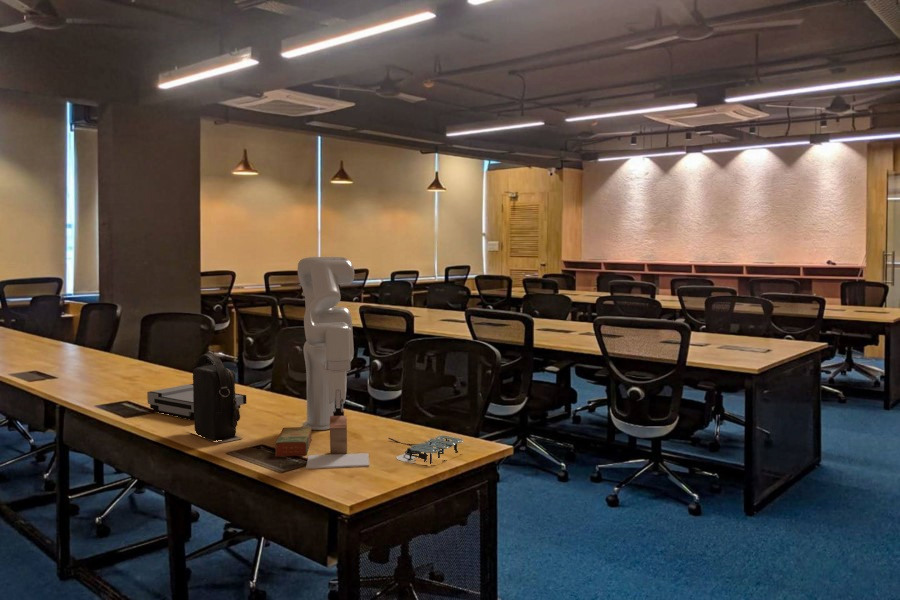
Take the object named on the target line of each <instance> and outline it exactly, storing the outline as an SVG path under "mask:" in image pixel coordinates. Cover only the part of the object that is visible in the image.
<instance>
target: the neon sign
mask: <svg viewBox="0 0 900 600" xmlns="http://www.w3.org/2000/svg"><path fill="white" fill-rule="evenodd" d="M388 440H390V441H392V442H395V443H398V444H401V445H402V444H403V445H407V446H410V447H408V448H407V449H406V450H405V451H404V453H403V454H400V455H399V454H398V455H397V456H395V458H396V460H398V461H401V462H403V463H410V464H413V463H414V462H415V461H416V460H414V461H411V460H413V459H415V458H417V457H418V458H421V459H424V462H425V461H426V460H427V456H428V455H427V454H426V453H430V464H431V463H432V454H431V453H437V452H438V458H440V454H444V449H447V448H450V447H454V450H455V453H457V448H458V444H462V443H464V441H465V440H464V439H463V438H459V437H453V436H450V435H444V434H443V435H438V436H437V435H436V436H435V438H429V440H425V441H424V443H423V442H420V443H418V444H414V443H405V442H400V441H398V440H396V439H393V438H391V437H388ZM444 446H445V447H444ZM433 447H436V448H433ZM440 449H442V450H440ZM436 450H437V451H436ZM421 452H424V454H423V453H421ZM440 452H442V453H440ZM412 454H419V456H417V455H412ZM426 462H427V461H426Z"/></svg>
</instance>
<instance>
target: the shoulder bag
mask: <svg viewBox="0 0 900 600" xmlns="http://www.w3.org/2000/svg"><path fill="white" fill-rule="evenodd" d="M207 358H208V359H209V360H210V362H212V363H213V364H209V365H205V364H206V361H207ZM192 384H193V402H194V404H193V405H194V406H193V407H194V423H193V424H194V430H195V431H196V433H197V434H198V435H201V436H202V437H205V438H206V439H205V440H207V441H210V442H212V443H214V444H223V443H226V442H227V443H228V442H232V441H237V440H241V439H243V437H240V436H237V434H236V433H237V429H236V428H237V426H238V422H239V421H240V419H241V415H240V408H238V405H237V404H236V398H235V393H236V373H235V371H234V370H230V369H229V368H227V367H225V366H224V363H223V362H222V360H221V359H220V357H219V356H218V354H215V353H211V352H210V353H204V354H202V355H200V356H199V357H198V360H197V363H196V367H195V368H194V369H193V371H192ZM216 440H217V441H218V440H222V441H218V442H213V441H216Z"/></svg>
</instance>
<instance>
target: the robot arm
mask: <svg viewBox="0 0 900 600" xmlns="http://www.w3.org/2000/svg"><path fill="white" fill-rule="evenodd" d="M297 277H298V281H299V283H300V286H301V288H302V291H303V294H304V299H305V302H304V303H305V312H304V316H303V326H304V334H305V339H306V341H305V342H304V345H303V356H304V361H305V362H304V363H305V370H306V371H305V374H306V421H304V422H302V427H311V430H312V431H326V430H327V431H328V430H330V416H345V411H344V404H345V403H346V397H347V383H348V381H347V376H348V375H347V373H348V372H349V371H351V362H352V360H353V359H354V354H355V351H354V350H355V348H354V333H353V319H352V314H351V311H350V310H349V309H348V308H347V307H344V306H337V305H338V304H339V303H340V301H341V290H340V285H351V284H352V283H353V282H354V279H355V268H354V265H353V263H352V262H351V260H349V259H348V258H346V257H342V256H311V257H304V258H301V259H299V261H298V263H297Z"/></svg>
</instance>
